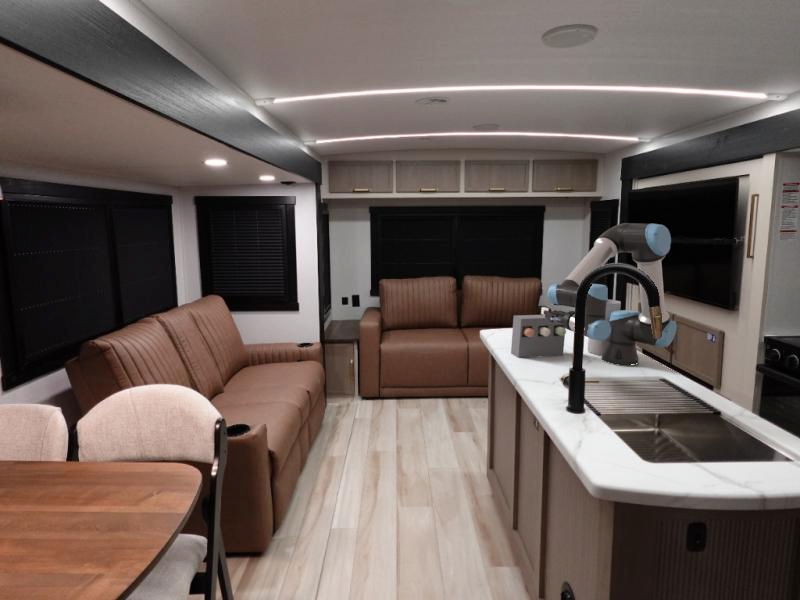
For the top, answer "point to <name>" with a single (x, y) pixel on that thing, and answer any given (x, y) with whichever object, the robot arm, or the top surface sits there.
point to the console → (535, 337)
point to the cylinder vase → (612, 306)
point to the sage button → (559, 330)
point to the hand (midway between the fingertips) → (543, 310)
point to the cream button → (544, 331)
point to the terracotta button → (528, 332)
